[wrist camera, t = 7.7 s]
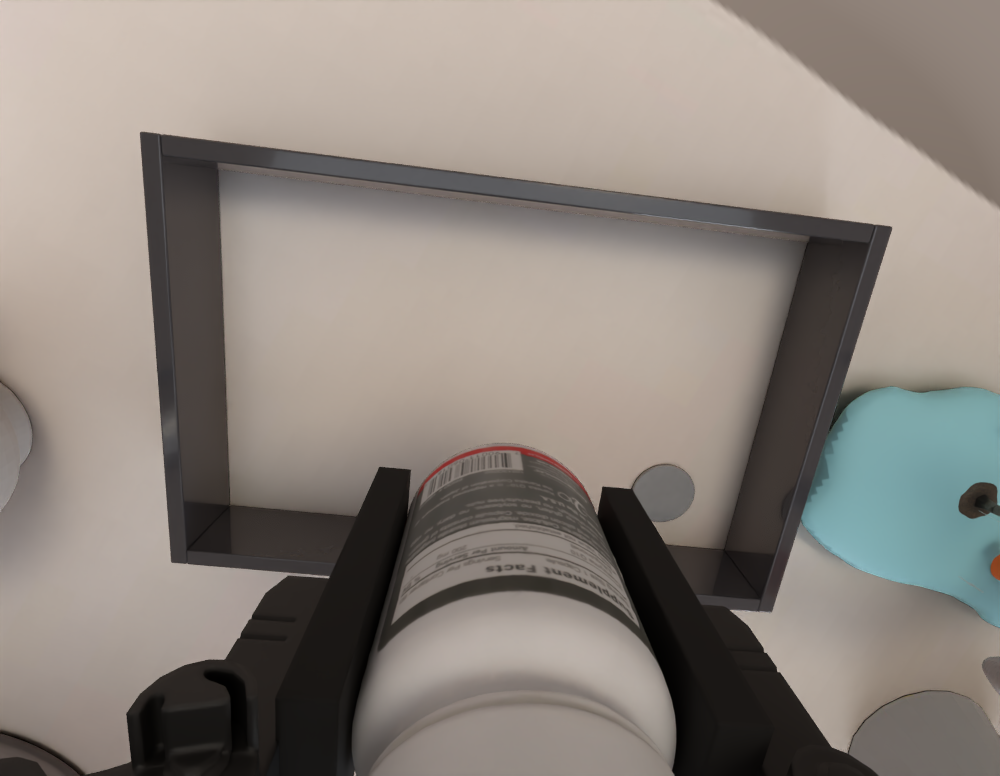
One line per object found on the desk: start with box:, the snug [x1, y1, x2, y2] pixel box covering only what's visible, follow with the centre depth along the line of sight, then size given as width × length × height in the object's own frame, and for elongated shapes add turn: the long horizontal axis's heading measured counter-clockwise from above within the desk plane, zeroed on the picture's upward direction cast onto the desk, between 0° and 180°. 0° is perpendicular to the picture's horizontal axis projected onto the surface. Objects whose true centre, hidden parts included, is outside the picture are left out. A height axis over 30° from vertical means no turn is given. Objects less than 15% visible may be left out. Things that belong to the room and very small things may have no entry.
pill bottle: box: [352, 443, 676, 776], centre depth 9 cm, size 5×5×8 cm
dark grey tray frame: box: [140, 132, 892, 613], centre depth 23 cm, size 27×17×4 cm, turn 83°
